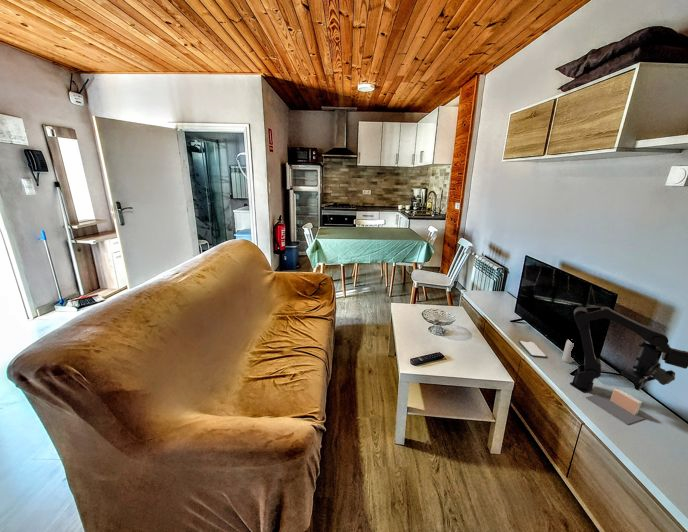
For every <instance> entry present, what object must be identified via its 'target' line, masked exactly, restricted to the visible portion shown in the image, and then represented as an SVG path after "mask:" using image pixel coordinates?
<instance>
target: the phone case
mask: <svg viewBox="0 0 688 532" xmlns="http://www.w3.org/2000/svg"><path fill="white" fill-rule="evenodd" d="M518 344H519V346H521V347H522V349H524V351H525V352H526V353H527V354H528V355H529V357H532V358H541V359H546V358H547V357H548V356H547V354H546V353H545V352H543V350H542V349H541V348H539V346H537V343H535V342H534V341H528V340H519V341H518Z"/></svg>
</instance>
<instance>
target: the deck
mask: <svg viewBox="0 0 688 532" xmlns="http://www.w3.org/2000/svg"><path fill="white" fill-rule="evenodd" d="M610 397H611V399H610V400H611V401H612V402H614V403H616V404H617V405H619V406H620V407H622V408H624V409H625V410H627V411H629V412H630V413H632V414H634V415H636V414H638V413H639V411H640V409H641V406H642V403H643V402H642V401H641V400H639V399H638V398H636V397H633V396H632V395H630V394H629V393H626V392H625V391H623V390H621V389H620V388H619V387H616V388H614V389H613V391H612V393H611V396H610Z"/></svg>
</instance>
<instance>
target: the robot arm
mask: <svg viewBox="0 0 688 532" xmlns="http://www.w3.org/2000/svg"><path fill="white" fill-rule="evenodd" d="M573 319H574V321H575V323H576V326H577V327H578V330H579V334H580V339H581V344H582V345H581V346H582V349H583V356H584V361H583V362H584V363H582V364H580V365H577V371H576V372H574V377H573V378H572V382H570V383H569V384H570V386H572V387H574V388H576V389H577V390H579V391H580V392H582V393H587V392H590V391H591V392H592V391H593V389H594V388H593V386H594V380H595V379H599V378H600V377H601V375H602V374H603V367H602V363H601V358H597V357H596V355H595V350H594V346H593V345H594V344H593V339H592V336H591V335H592V334H591V327H590V325H591V324H590V323H591V321H596V320H600V319H608V320H610V321H611V322H613V323H615V324H617V325H620V326H621V327H623V328H626V329H627V330H629V331H631V332H633V333H635V334H637V335H638V336H639V337H641V338H642V340H640V341H637V346H638V347H640V348H641V351H640V354H639V356H636V358H635V360H636V365H633V367H632V368H633V369H632V368H627V369H623V370H622V371H621V373H620V374H621V376H623V377H625V379H626V378H627V379H629V380H630V381H632V383H633V386H634V390H637V391H640V390H641V389H642V388H643V387H644V386H645V385H646V384H647V383H648V382H650V381H655V380H656V381H657V382H658V383H659V384H660V385H662V386H665V385H669V384H671V382H673V381H675V379H676V377H675V376H676V372H674V371H673V370H671V369H669V370H666V369H664V368H662V367H661V363H660V360H663V361H664V363H665V364H667V365H670V366H674V367H678V368H680V369H681V368H682V369H687V368H688V351H686V350H681V349H678V348H673V347H671V346H670V344H669V338H668V337H667V334H666V333H665V331H663V330H662V329H659V328H657V327H653V326H650V325H645V324H642V323H639V322H638V321H636V320H634V319H632V318H629V317H628V316H626V315H624V314H622V313H620V312H617V311H615V309H614V310H613V309H611V308H610V307H608V306H600V307H599V306H598V307H597V306H595V307H594V306H590V307H584V306H578V307H576V308H575V309H574V311H573ZM634 369H635V370H634Z"/></svg>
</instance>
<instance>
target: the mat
mask: <svg viewBox="0 0 688 532" xmlns="http://www.w3.org/2000/svg"><path fill="white" fill-rule="evenodd" d="M585 399H587V401H589V402H590V403H593V404H594V405H596V406H597V407H599V408H600V409H602V410H603V411H605V412H606V413H608V414H610V415H612V416H613V417H614V418H616V419H618V420H619V421H620V422H623V424H625V425H631V424H634V423H637V422H640V421H643V420H645V419H647V417H645V416H644V415H642V414H641V413H639V412H638V414H636V415H634V414H632V413H630V412H629V411H627V410H625V409H624V408H622V407H620V406H619V405H617V404H616V403H614V402H612V401H611V400H610V399H611V396H610V395H608V394H607V393H605V392H600V393H597V394H593V395H589V396H586V397H585Z"/></svg>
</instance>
